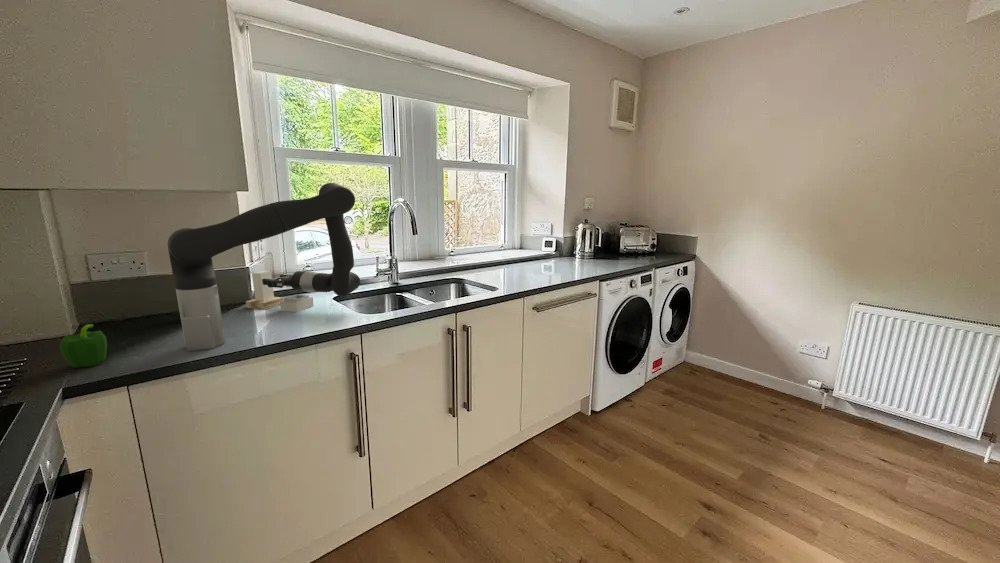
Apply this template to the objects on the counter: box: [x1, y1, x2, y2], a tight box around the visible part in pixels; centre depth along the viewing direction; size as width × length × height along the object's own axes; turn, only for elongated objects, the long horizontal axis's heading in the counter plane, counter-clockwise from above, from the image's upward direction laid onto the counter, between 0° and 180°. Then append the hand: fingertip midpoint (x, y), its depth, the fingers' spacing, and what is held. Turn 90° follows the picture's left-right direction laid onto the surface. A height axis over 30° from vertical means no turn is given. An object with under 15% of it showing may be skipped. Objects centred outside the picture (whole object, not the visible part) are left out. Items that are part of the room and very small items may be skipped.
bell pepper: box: [58, 323, 108, 369], centre depth 99 cm, size 8×8×10 cm
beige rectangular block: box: [279, 294, 315, 313], centre depth 151 cm, size 9×7×4 cm
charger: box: [251, 270, 275, 301], centre depth 153 cm, size 5×4×11 cm
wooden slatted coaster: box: [245, 296, 284, 310], centre depth 154 cm, size 9×9×2 cm
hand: (272, 279), depth 151 cm, fingers open, 8 cm apart
